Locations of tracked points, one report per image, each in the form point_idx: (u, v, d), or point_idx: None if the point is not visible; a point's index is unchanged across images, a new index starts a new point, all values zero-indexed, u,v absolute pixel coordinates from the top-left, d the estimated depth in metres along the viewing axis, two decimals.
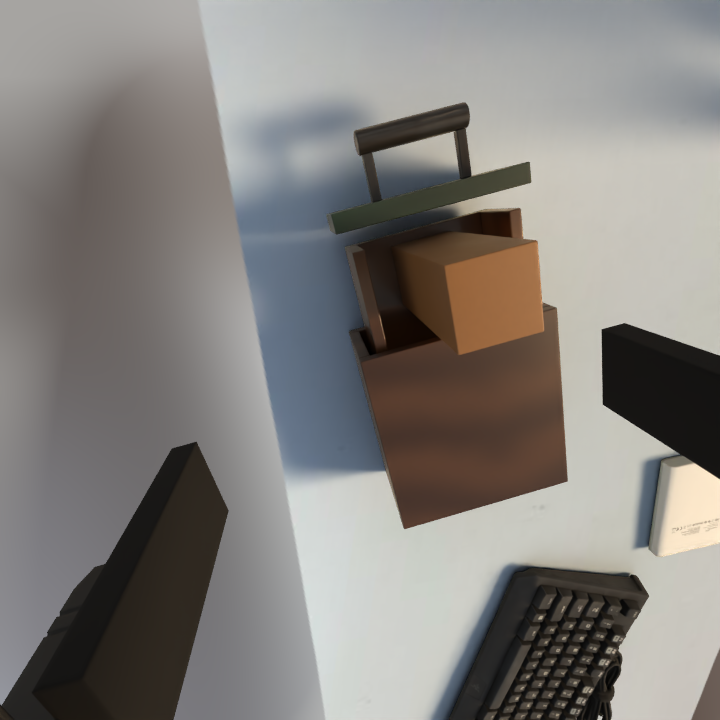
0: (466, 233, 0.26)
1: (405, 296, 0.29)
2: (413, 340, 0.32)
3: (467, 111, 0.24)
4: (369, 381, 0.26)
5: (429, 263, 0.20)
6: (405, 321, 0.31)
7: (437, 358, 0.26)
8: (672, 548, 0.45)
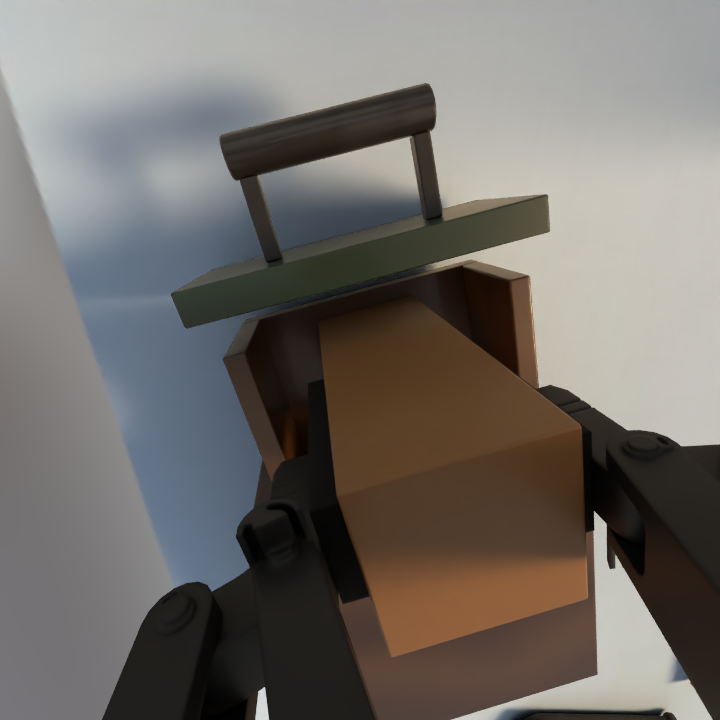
0: (433, 316, 0.15)
1: None
2: None
3: (431, 99, 0.13)
4: None
5: (330, 433, 0.09)
6: None
7: None
8: None
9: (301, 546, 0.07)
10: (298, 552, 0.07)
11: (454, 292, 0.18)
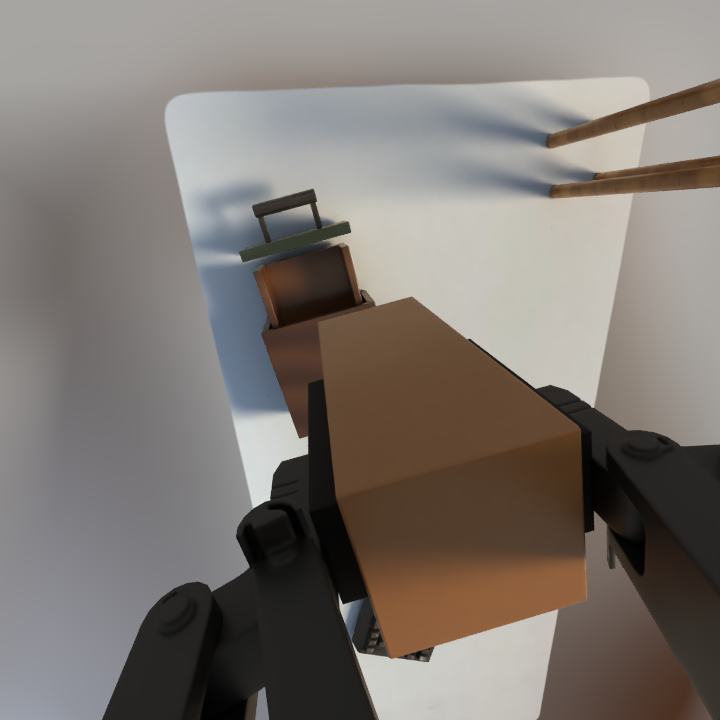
0: (433, 317, 0.15)
1: None
2: None
3: (314, 194, 0.43)
4: (267, 344, 0.46)
5: (330, 435, 0.09)
6: (299, 311, 0.51)
7: (306, 331, 0.46)
8: None
9: (301, 546, 0.07)
10: (298, 552, 0.07)
11: (336, 255, 0.49)
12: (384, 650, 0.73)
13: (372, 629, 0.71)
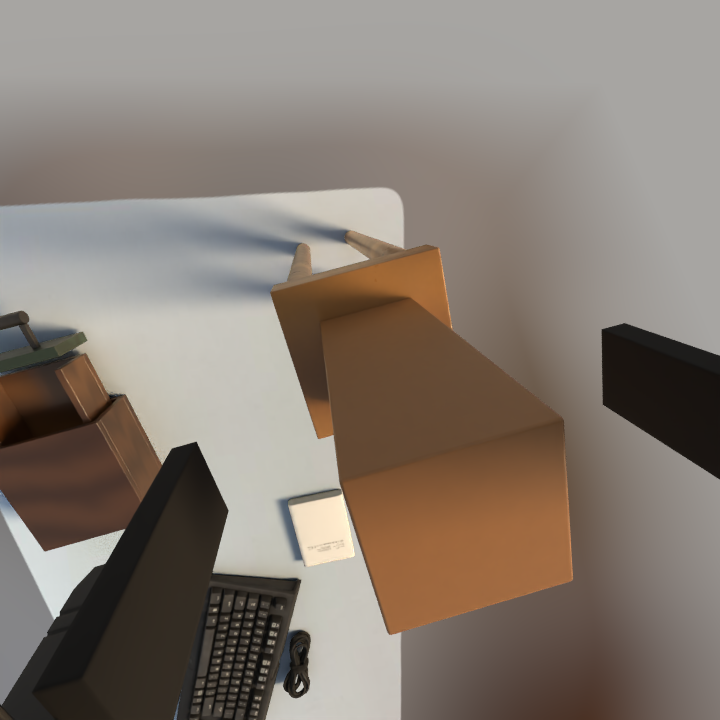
0: (431, 317, 0.15)
1: None
2: (55, 430, 0.50)
3: (18, 318, 0.42)
4: None
5: None
6: (46, 419, 0.49)
7: (26, 452, 0.44)
8: (314, 560, 0.63)
9: None
10: None
11: None
12: None
13: (191, 714, 0.70)
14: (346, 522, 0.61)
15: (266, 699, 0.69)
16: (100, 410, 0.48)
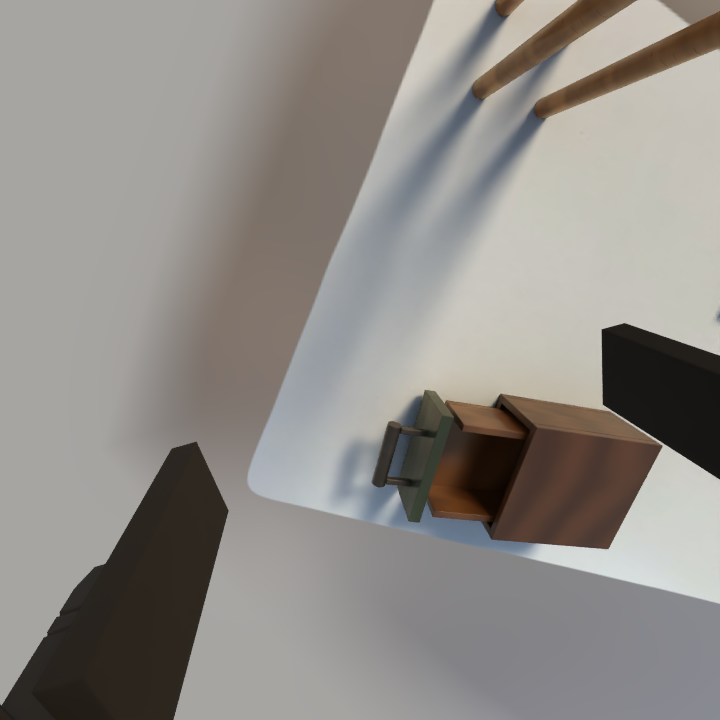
0: None
1: None
2: (496, 471, 0.46)
3: (395, 428, 0.38)
4: (505, 538, 0.42)
5: None
6: (481, 472, 0.46)
7: (517, 501, 0.41)
8: None
9: None
10: None
11: None
12: None
13: None
14: None
15: None
16: (513, 421, 0.41)
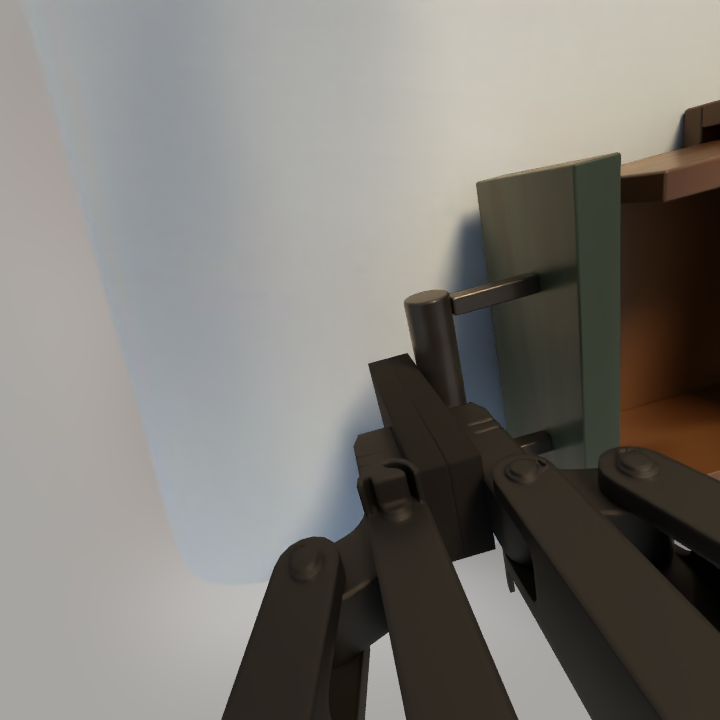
0: None
1: None
2: None
3: (430, 305, 0.12)
4: None
5: None
6: (712, 337, 0.17)
7: None
8: None
9: (415, 506, 0.08)
10: (412, 511, 0.07)
11: None
12: None
13: None
14: None
15: None
16: None
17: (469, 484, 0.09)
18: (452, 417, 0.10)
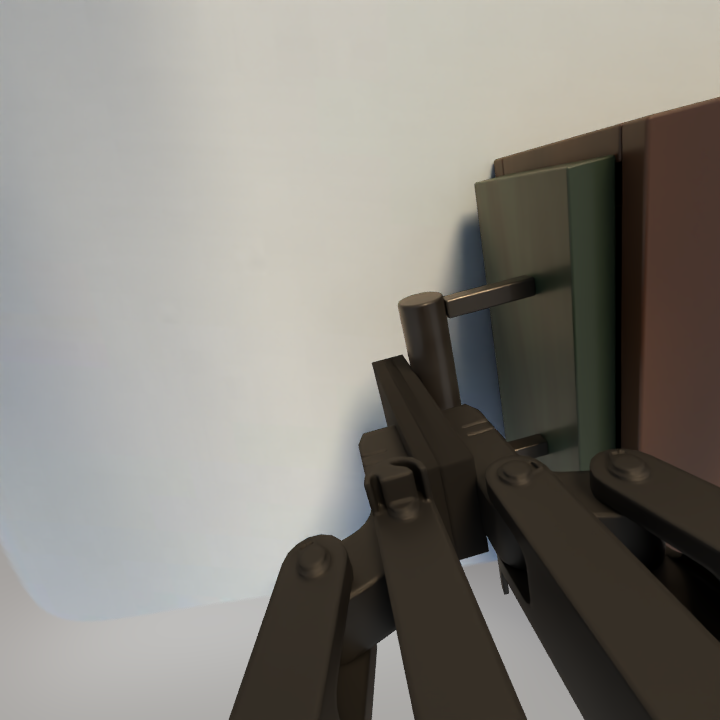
0: None
1: None
2: None
3: (423, 307, 0.12)
4: None
5: None
6: None
7: (679, 443, 0.11)
8: None
9: (422, 504, 0.08)
10: (419, 509, 0.07)
11: None
12: None
13: None
14: None
15: None
16: None
17: (462, 487, 0.08)
18: (445, 419, 0.10)
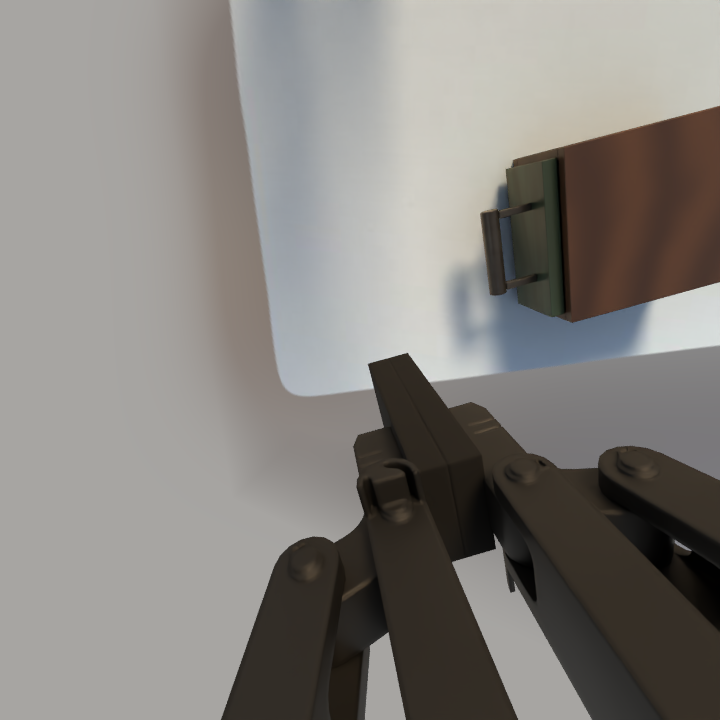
0: None
1: None
2: None
3: (491, 212, 0.32)
4: (588, 315, 0.33)
5: None
6: None
7: (583, 260, 0.32)
8: None
9: (415, 506, 0.08)
10: (412, 511, 0.07)
11: None
12: None
13: None
14: None
15: None
16: None
17: (469, 484, 0.09)
18: (452, 417, 0.10)
